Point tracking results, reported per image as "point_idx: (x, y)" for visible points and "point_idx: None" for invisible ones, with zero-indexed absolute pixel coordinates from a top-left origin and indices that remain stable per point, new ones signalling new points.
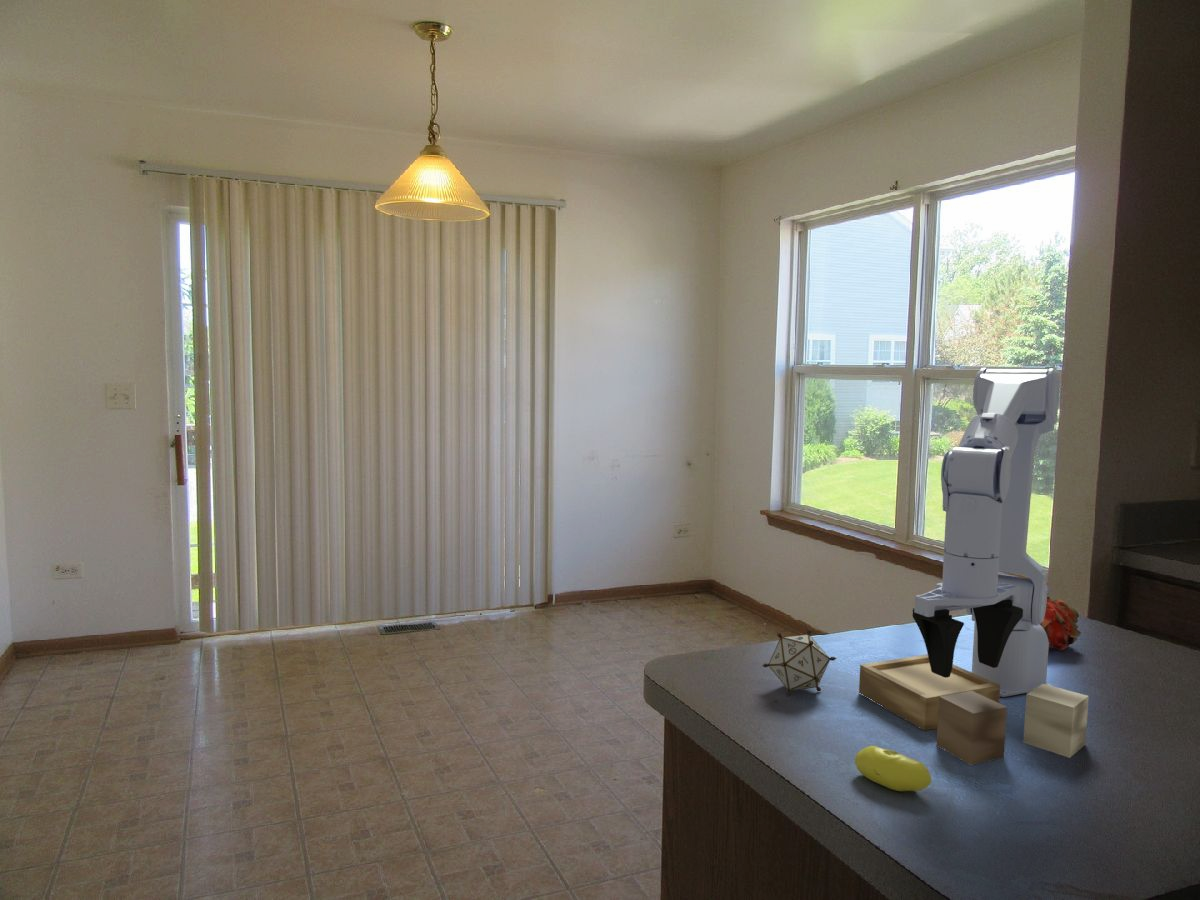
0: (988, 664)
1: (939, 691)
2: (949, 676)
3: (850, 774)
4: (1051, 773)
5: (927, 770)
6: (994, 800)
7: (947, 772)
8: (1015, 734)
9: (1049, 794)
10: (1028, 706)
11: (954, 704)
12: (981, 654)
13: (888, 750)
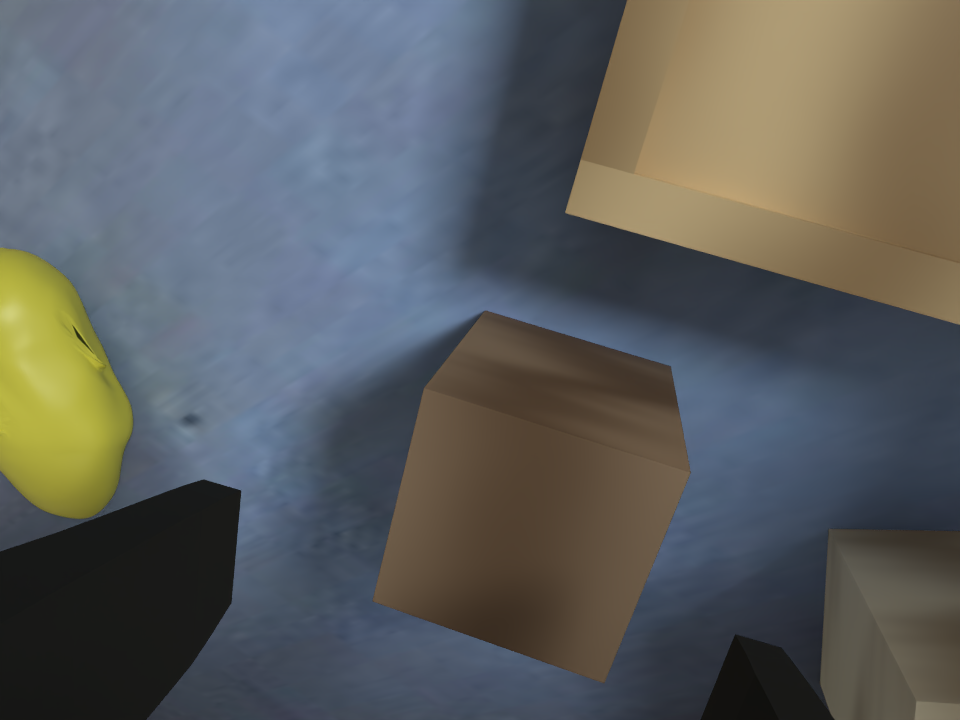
0: (709, 716)
1: (831, 154)
2: (228, 605)
3: (15, 239)
4: (623, 671)
5: (73, 513)
6: (291, 609)
7: (320, 444)
8: (898, 477)
9: (468, 701)
10: (888, 659)
11: (401, 490)
12: (740, 710)
13: (6, 379)
